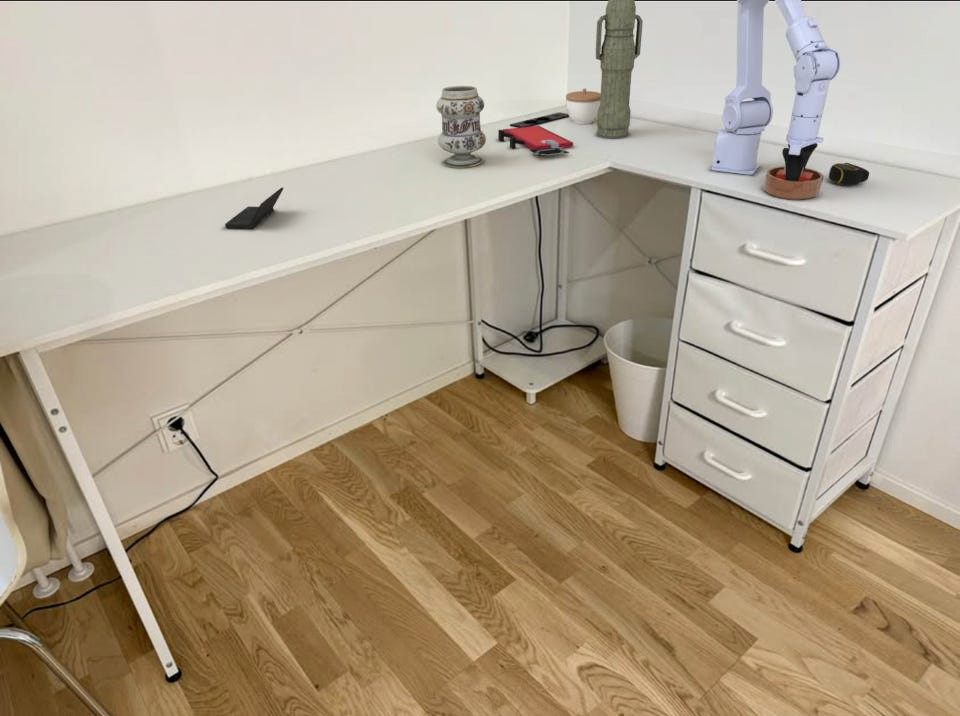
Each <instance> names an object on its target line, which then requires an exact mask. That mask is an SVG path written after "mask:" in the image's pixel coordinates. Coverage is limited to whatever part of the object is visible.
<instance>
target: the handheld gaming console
mask: <svg viewBox="0 0 960 716" xmlns="http://www.w3.org/2000/svg"><path fill="white" fill-rule="evenodd" d="M283 191H284V187H280V188H279V189H278V190H275V192H273V193H272V194H271V195H270V196H269V197H268V198H266V199H265V200H263V201H262V202H261V203H260V205H259V206H247V207H245V208H244V209H242V210H241V211H240V212H238V213H237V214H236V215H235V216H233V217H232V218H231V219H230V220H228V221H227V222H226V223H225V224H224V227H225V229H231V230H232V229H233V230H234V229H235V230H254V228H256V227H257V226H259V224H260V223H262V221H264V220H265V219H266V218H268V217H269V216H270V215H272V213H274V212H275V209H274V207H275V205H276V203H277V201H278V199H279V198H280V196H281V194H282V192H283Z"/></svg>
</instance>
